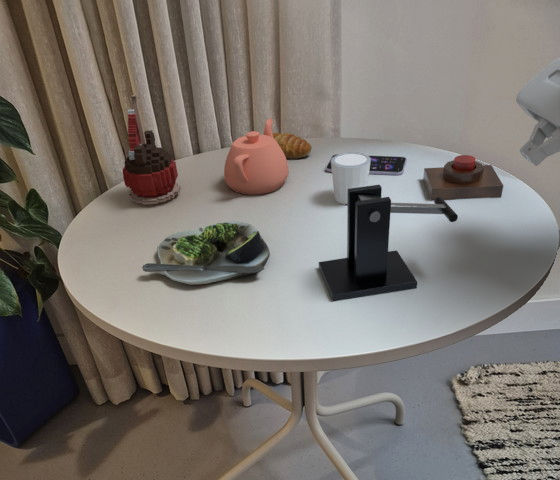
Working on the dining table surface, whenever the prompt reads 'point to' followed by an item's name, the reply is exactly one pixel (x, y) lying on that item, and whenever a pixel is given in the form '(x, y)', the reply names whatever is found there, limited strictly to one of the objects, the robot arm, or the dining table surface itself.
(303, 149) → the pastry
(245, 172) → the teapot
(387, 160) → the smartphone
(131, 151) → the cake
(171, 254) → the salad plate
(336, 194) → the white cup
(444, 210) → the lever
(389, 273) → the bracket
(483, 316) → the dining table surface
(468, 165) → the button
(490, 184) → the console
